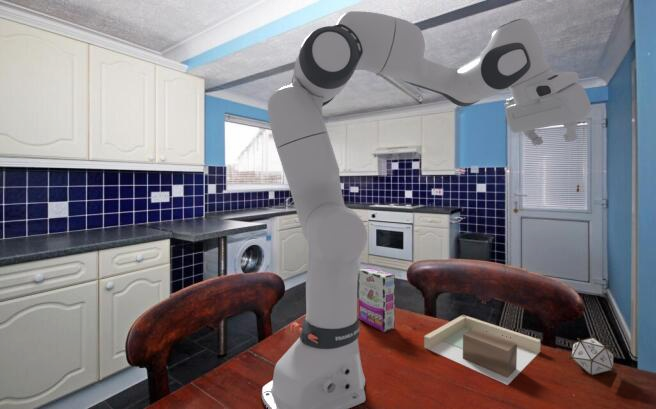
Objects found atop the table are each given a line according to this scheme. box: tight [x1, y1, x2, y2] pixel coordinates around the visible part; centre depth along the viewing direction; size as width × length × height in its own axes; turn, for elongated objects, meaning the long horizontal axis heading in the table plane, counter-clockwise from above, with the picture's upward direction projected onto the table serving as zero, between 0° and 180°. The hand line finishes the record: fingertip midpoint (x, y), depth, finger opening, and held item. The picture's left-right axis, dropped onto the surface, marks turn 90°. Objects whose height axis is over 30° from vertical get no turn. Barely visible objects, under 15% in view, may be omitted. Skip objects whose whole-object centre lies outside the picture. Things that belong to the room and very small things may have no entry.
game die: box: [567, 333, 618, 376], centre depth 71 cm, size 9×8×10 cm
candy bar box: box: [358, 267, 396, 333], centre depth 96 cm, size 11×5×16 cm, turn 36°
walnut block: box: [463, 328, 517, 378], centre depth 73 cm, size 5×10×6 cm, turn 40°
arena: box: [423, 314, 541, 386], centre depth 80 cm, size 20×20×4 cm
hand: (554, 142), depth 76 cm, fingers open, 8 cm apart
